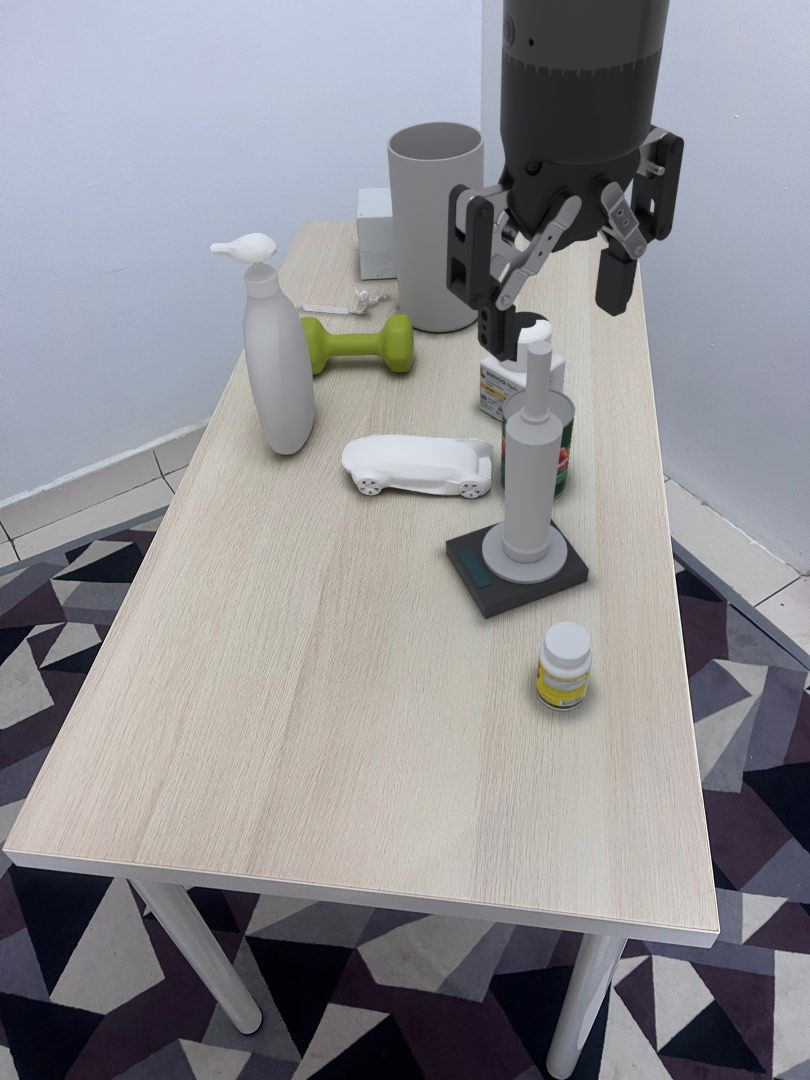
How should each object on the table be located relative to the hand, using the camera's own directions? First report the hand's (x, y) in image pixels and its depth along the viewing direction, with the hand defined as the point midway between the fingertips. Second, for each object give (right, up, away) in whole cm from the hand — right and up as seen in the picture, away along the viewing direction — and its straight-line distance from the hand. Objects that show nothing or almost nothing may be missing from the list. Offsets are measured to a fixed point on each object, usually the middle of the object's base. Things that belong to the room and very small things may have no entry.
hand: (555, 331), depth 49 cm
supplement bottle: (+5, -27, +26) cm, 39 cm away
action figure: (-19, +23, +74) cm, 80 cm away
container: (+6, +4, +55) cm, 56 cm away
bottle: (+3, -14, +35) cm, 38 cm away
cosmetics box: (-13, +33, +83) cm, 90 cm away
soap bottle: (-25, +1, +55) cm, 60 cm away
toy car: (-8, -5, +48) cm, 49 cm away
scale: (+3, -16, +37) cm, 40 cm away
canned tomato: (+6, -6, +46) cm, 47 cm away
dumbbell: (-16, +12, +64) cm, 67 cm away
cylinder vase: (-4, +22, +72) cm, 75 cm away
